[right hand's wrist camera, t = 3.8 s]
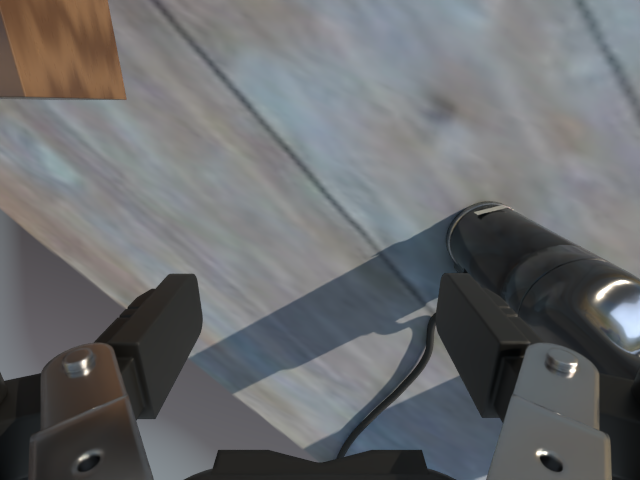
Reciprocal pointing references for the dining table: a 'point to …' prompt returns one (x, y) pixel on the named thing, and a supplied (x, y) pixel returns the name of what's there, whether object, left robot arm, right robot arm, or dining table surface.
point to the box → (58, 51)
